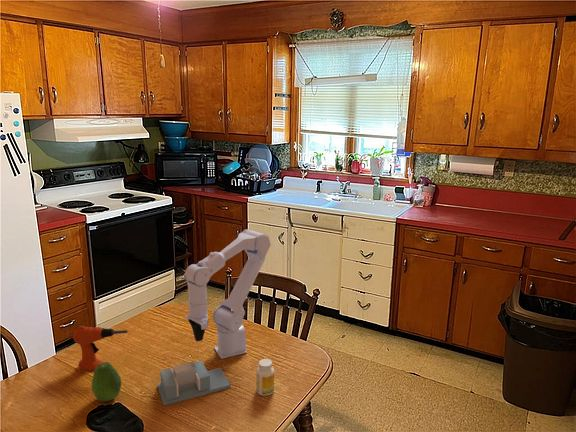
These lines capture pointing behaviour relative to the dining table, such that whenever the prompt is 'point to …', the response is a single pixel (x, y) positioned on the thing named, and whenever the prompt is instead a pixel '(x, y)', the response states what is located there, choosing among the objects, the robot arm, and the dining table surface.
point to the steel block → (185, 376)
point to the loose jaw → (202, 376)
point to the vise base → (171, 394)
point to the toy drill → (91, 344)
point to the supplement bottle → (265, 377)
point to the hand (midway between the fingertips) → (198, 340)
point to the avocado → (106, 382)
